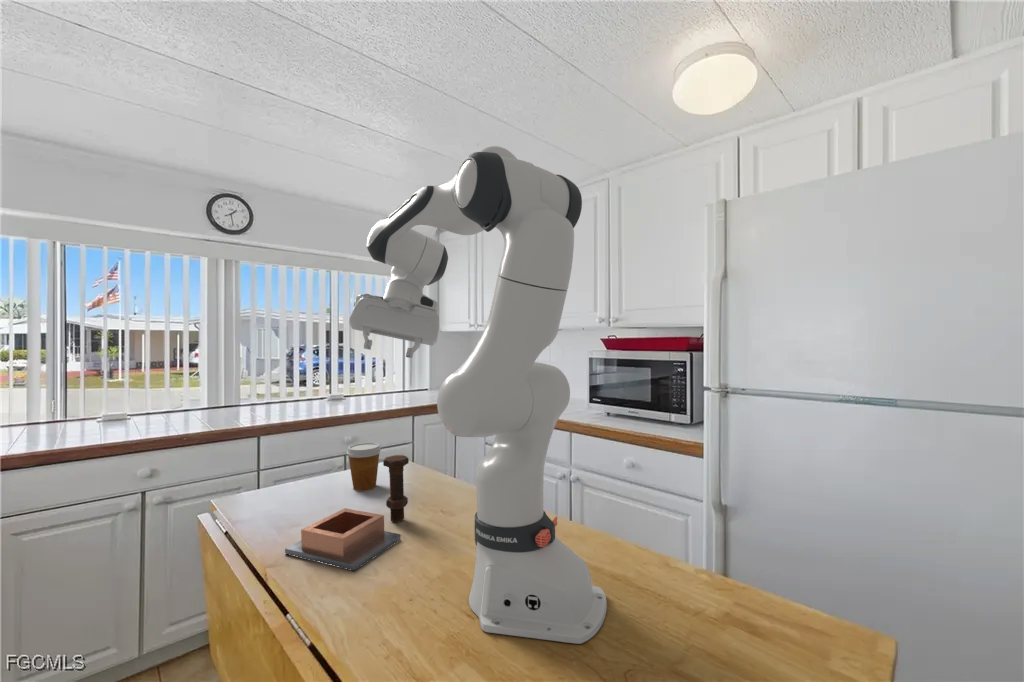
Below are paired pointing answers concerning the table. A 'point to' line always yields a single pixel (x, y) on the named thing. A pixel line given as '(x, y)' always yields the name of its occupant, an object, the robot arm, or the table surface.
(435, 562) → the table surface
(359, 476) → the disposable coffee cup
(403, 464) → the bolt
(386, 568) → the table surface
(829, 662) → the table surface
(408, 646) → the table surface
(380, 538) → the socket
